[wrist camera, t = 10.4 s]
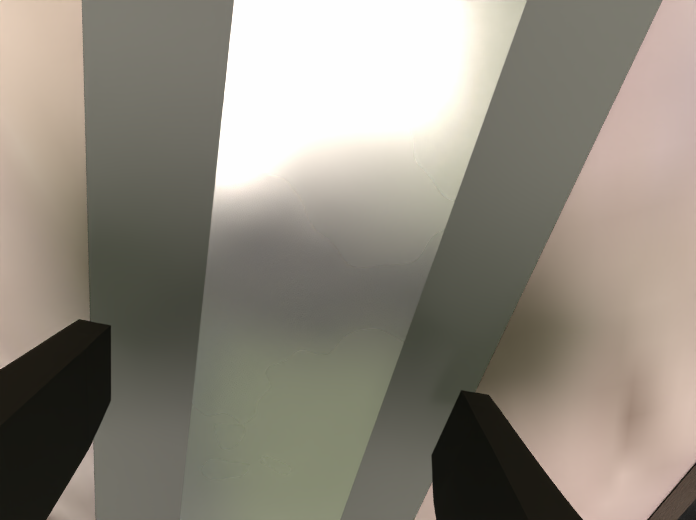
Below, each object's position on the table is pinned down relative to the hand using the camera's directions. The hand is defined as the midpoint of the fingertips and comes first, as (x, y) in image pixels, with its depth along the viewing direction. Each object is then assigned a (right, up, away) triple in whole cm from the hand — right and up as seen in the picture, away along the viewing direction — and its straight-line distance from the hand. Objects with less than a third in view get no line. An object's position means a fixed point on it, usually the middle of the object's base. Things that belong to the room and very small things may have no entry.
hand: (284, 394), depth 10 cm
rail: (0, 0, +1) cm, 1 cm away
